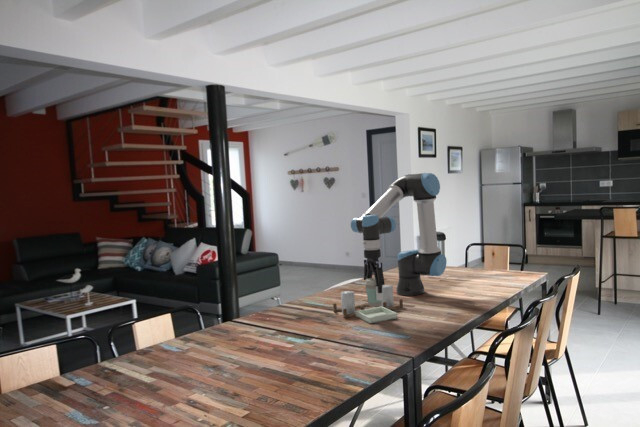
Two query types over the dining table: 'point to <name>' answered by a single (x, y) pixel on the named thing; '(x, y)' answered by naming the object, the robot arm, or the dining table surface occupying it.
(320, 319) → the dining table surface
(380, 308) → the tray
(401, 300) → the rack
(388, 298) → the white rounded block
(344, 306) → the white rounded capsule
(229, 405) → the dining table surface
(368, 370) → the dining table surface
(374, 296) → the coffee cup
